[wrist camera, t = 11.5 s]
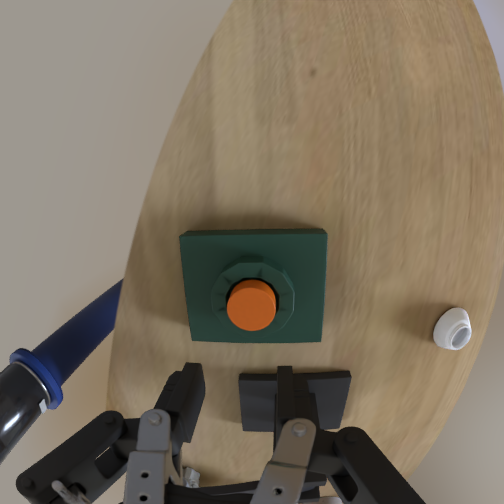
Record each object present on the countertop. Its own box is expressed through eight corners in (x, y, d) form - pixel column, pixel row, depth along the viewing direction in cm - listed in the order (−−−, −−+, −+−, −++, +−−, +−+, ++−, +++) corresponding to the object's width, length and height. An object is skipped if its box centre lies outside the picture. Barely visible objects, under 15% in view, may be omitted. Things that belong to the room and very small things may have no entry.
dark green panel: (197, 329, 28) (186, 351, 24) (186, 231, 25) (171, 240, 21) (318, 330, 27) (323, 353, 23) (323, 228, 24) (332, 238, 20)
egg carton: (160, 458, 35) (153, 475, 31) (204, 470, 35) (200, 489, 31) (161, 481, 38) (156, 497, 34) (199, 492, 38) (195, 508, 34)
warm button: (231, 320, 23) (228, 330, 21) (228, 279, 22) (225, 287, 20) (275, 320, 23) (275, 331, 21) (275, 278, 22) (275, 287, 20)
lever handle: (182, 495, 19) (183, 514, 16) (169, 472, 17) (170, 494, 15) (304, 476, 21) (312, 494, 19) (310, 452, 20) (319, 472, 17)
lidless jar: (440, 351, 27) (469, 322, 25) (451, 364, 24) (482, 334, 23) (425, 328, 26) (456, 297, 25) (437, 341, 23) (470, 308, 22)
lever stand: (243, 424, 31) (231, 508, 19) (239, 373, 29) (221, 470, 16) (337, 421, 30) (353, 503, 18) (349, 370, 28) (378, 462, 15)
